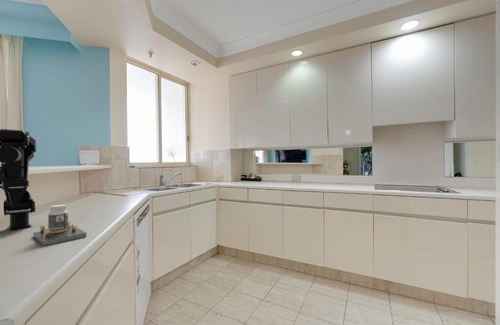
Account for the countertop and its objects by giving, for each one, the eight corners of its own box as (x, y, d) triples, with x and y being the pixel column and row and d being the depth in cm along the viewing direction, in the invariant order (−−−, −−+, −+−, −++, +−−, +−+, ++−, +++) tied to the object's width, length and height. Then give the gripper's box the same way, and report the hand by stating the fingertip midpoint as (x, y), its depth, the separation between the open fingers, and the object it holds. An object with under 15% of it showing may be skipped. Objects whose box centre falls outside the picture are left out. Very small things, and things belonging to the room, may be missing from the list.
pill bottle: (70, 230, 85) (70, 205, 85) (51, 234, 80) (51, 207, 80) (64, 228, 88) (64, 203, 88) (45, 232, 83) (46, 206, 84)
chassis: (33, 236, 83) (33, 225, 83) (72, 229, 93) (72, 219, 93) (43, 246, 73) (43, 234, 73) (86, 236, 83) (86, 226, 83)
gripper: (-24, 163, 81) (-24, 205, 81) (-20, 163, 70) (-21, 212, 70) (19, 163, 90) (19, 201, 90) (29, 163, 79) (28, 206, 79)
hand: (12, 205), depth 82 cm, fingers open, 9 cm apart
